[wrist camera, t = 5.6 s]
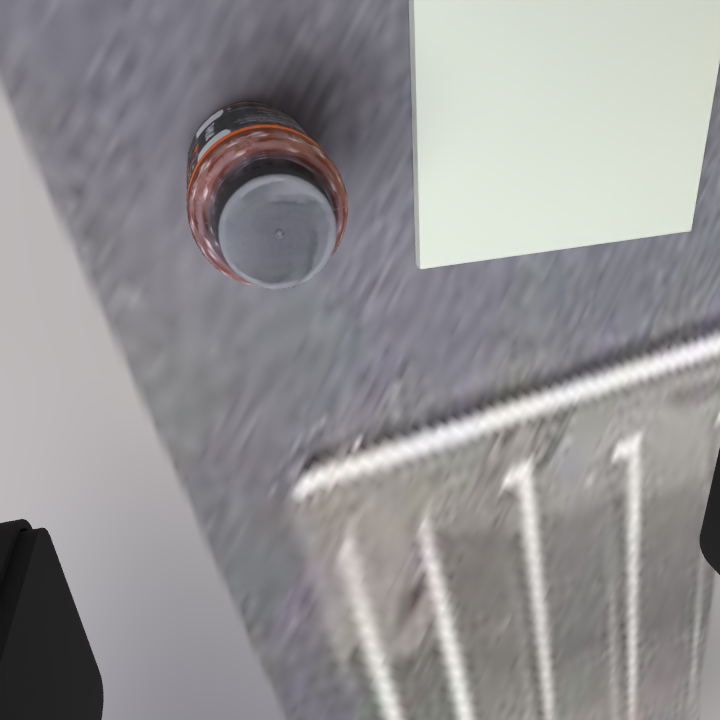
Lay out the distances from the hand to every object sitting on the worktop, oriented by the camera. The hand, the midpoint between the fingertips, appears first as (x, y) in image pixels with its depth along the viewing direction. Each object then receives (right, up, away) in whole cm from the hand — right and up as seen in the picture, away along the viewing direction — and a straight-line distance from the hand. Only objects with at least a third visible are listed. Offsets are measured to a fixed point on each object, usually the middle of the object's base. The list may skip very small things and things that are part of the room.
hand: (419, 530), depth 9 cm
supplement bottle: (-6, +12, +23) cm, 27 cm away
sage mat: (+9, +16, +25) cm, 31 cm away
